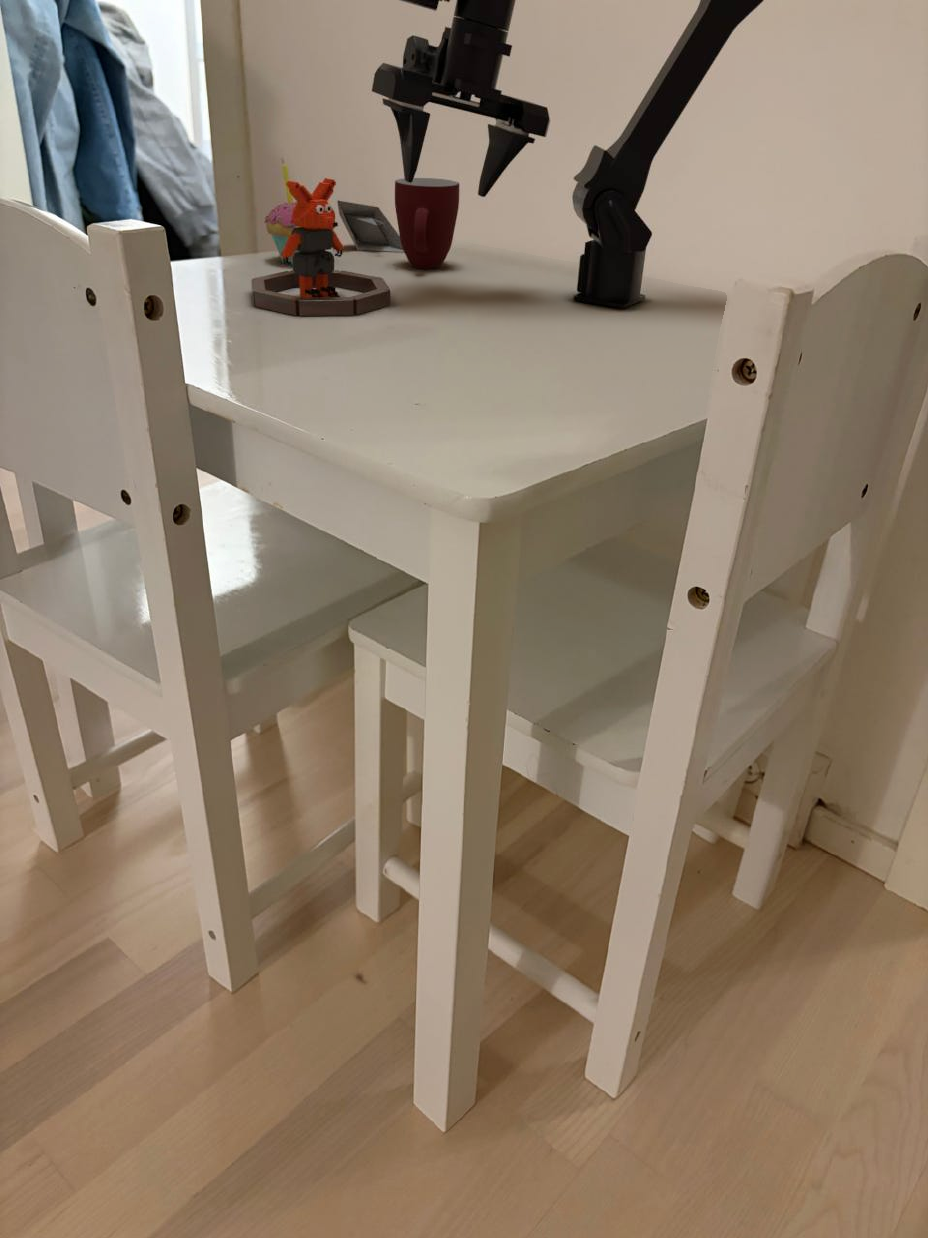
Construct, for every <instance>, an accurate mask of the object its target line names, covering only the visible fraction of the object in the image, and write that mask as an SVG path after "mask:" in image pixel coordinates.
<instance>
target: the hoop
mask: <svg viewBox="0 0 928 1238" xmlns="http://www.w3.org/2000/svg"><path fill="white" fill-rule="evenodd" d="M250 282H251V283H250V284H251V295H252V304H253V307H255V308H259V309H262V310H267V311H272V312H277V313H282V314H285V315H286V314H287V315H291V316H295V317H297V316H299V317H332V316H334V317H336V316H341V317H342V316H354V315H356V316H358V315H362V314H366V313H368V312H372V311H375V310H378V309H382V308H385V307H389V306H390V305H391V288H390V286H388V284H387V283H386V280H384V278H383V277H380V276H379V277H378V276H375V275H368V274H363V273H358V272H352V271H347V270H339V269H334V270H333V272H332V273H331V274H328V286H331V287H334V288H342V289H347V290H352V291H357V292H361V293H358V294H355V295H351V296H344V297H343V296H340V297H312V298H301V297H300V296H295V295H290V294H286V293H282V292H279V291H284V290H288V289H292V288H300V283H299V275H297V274H296V273H294V271H293V269H292V270H285V271H280V272H276V273H271V274H266V275H262V276H258V277H254V278H251V280H250ZM312 283H313V288H316V287H315V286H316V276H312Z"/></svg>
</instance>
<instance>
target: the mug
mask: <svg viewBox="0 0 928 1238" xmlns="http://www.w3.org/2000/svg"><path fill="white" fill-rule="evenodd" d="M459 207H460V182H458V181H456V180H451V179H445V178H433V177H414V178H413V181H412V183H409V182H407V181H405V178H399V179H396V180H394V209H395V214H396V215H395V216H396V221H397V227H398V235H399V236H400V241H401V245H402V248H403V250H404V252H403V253H404V255H405V257H406V259H407V261H408V264H409V265H410V266H411V267H412V268H415V269H424V270H436V269H439V268H441V267H442V266H443V264H444V262H445V260H446V258H447V256H448V254H449V252H450V249H451V247H452V245H453V239H454V235H455V228H456V224H457V220H458V219H457V218H458V214H459V213H458V212H459Z"/></svg>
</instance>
